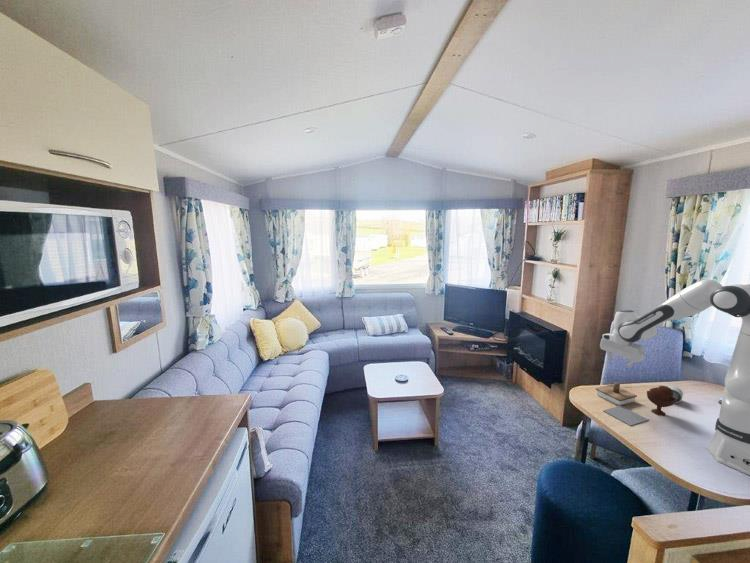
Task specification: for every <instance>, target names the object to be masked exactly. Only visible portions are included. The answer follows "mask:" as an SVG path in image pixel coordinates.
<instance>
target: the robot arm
mask: <svg viewBox="0 0 750 563" xmlns="http://www.w3.org/2000/svg"><path fill="white" fill-rule="evenodd" d="M710 307H713V308H715V309H716V310H718V311H721V312H723V313H726V314H728V315H730V316H732V317H735V318H741V320H742V323H741V327H740V330H739V333H738V336H737V340H736V343H735V347H734V348H733V349H734V350H733V353H732V356H731V358H730V359H731V360H730V362H729V365H728V368H727V372H726V375H725V378H724V391H723V395H722V400H721V405H720V410H719V416H718V418H717V419H716V422H715V427H714V429H715V433H714V435H713V437H712V440H711V441H710V443H709V444H708V445H707V450H708V451H709V452H710V453H711V454H712V455H713V456H714V458H715V461H717V462H718V463H720V464H722V465H724V466H727V467H729V468H732V469H733V470H736V471H739V472H740V473H743V474H746V475H748V476H750V284H740V283H739V284H732V285H725V286H724V285H722V283H720V282H718V281H716V280H714V279H703V280H699V281H697V282H694V283H692V284H690V285H688V286H686V287H685V288H683V289H681V290H680V291H678V292H677V293H675V294H674V295H672V296H670V298H668V299H666V300H665V301H664V302H663V303H661V304H659V305H658V306H657V307H655V308H654V309H651V310H650V311H649V312H646V313H645V314H643V315H641V316H640V315H639V314H637V312H636V311H634V310H630V309H622V310H618V311H616V313H615V315H614V319H613V330H612V332H609V333H604V334H602V336H601V337H602V338H601V340H600V342H599V343H600V344H599V349H601V350H602V351H605V352H606V355H607V359H608V360H610V361H613V360H614V356H613V355H612V354H614V355H617V356H618V357H619V356H620V357H621V358H624V359H627V360H628V361H629V362H625V366H626V368H627V367H628V368H631V367H632V365H633V363H640V362H643V361H644V352H645V351H644V350H645V348H644V347H643V345H641V344H639V343H636V342H640V341H644V340H648V339H651V338H655V337H656V336H657V335H658V327H657V326H658V325H661V324H662V323H664V322H665V323H666V322H669V321H673V320H679V319H684V318H688V317H691V316H695V315H697V314H700V313H701V312H703V311H705V310H707V309H708V308H710Z"/></svg>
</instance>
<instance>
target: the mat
mask: <svg viewBox="0 0 750 563" xmlns="http://www.w3.org/2000/svg"><path fill="white" fill-rule="evenodd" d="M602 411H603V413H606V414H607V415H609V416H611V417H613V418H615V419H616V420H618V421H621V422H622V423H624V424H626V425H627V426H629V427H633V426H634V425H639V424H641V423H646V422H648V421H649V418H647V417H644V416H642V415H641V414H638V413H636V412H634V411H633V410H631V409H628V408H626V407H625V406H624V405H621V406H618V405H617V406H614V407H610V408H608V409H603V410H602Z"/></svg>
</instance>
